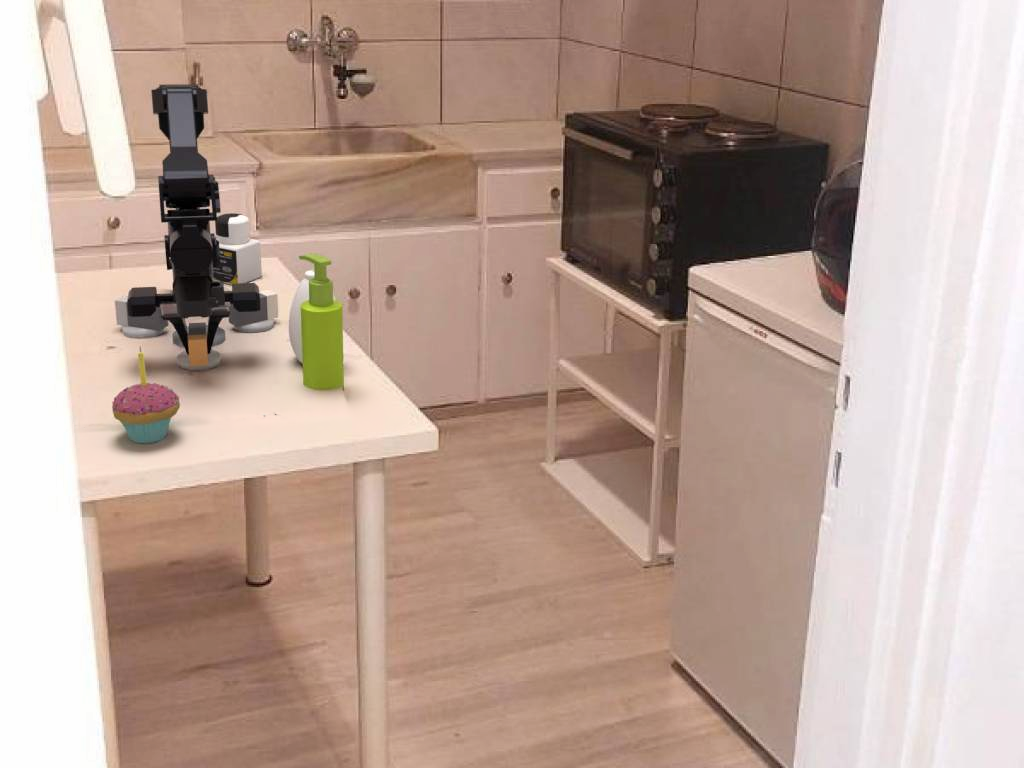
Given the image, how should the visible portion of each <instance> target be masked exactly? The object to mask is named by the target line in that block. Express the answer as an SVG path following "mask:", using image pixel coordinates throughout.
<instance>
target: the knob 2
mask: <svg viewBox="0 0 1024 768" xmlns="http://www.w3.org/2000/svg"><path fill="white" fill-rule="evenodd" d="M259 293H260V308H261V310H259V311H254V312H238V311H237V310H236V309H235V308H234V307H233V304H230V307H229V309H230V316H229V317H228V323H229V324H230V325H232V326H233V329H234V330H235V331H238V332H241V333H250V334H251V333H262V332H264V333H265V332H267V331H270V330H271V329H273V328H274V326H275V321H274V319H278V318H279V303H278V302H279V301H278V300H279V298H278V293H277V292H275V291H272V290H270V289H267V290H266V289H265V290H261V291H259Z"/></svg>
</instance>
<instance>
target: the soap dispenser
mask: <svg viewBox="0 0 1024 768" xmlns="http://www.w3.org/2000/svg"><path fill="white" fill-rule="evenodd" d="M298 258H299V260H305V261H306V262H307V261H308V262H310V263H311V264H312V263H314V276H315V278H313V279H311V280H310V281H309V300H307V301H305V302H303V303H302V304H301V334H302V362H303V363H302V383H303V385H304V387H306V388H308V389H312V390H318V391H324V390H325V391H328V390H334V389H337V388H340V387H341V389H342V391H343V392H344V391H345V374H344V372H345V370H344V369H345V367H344V365H345V364H344V332H343V331H344V327H343V325H344V324H343V323H344V322H343V303H342V302H341V301H339V300H337V299H336V300H333V294H334V281H333V280H332V279H331V278H329V277H328V276H327V275H328V274H327V272H328V271H327V266H331V265H332V260H331V259H330V258H328V257H325V256H323V255H321V254H318V253H308V254H303V255H298Z"/></svg>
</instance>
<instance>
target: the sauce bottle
mask: <svg viewBox="0 0 1024 768" xmlns="http://www.w3.org/2000/svg"><path fill="white" fill-rule="evenodd" d="M313 278H315V276H314V263H312V262H311V270H307V271H305V273H304V278H303V279H302V281H301V282H300V283H299V285H298V286H297V288H296V291H295V293H294V296H293V299H292V302H291V306H290V310H289V317H288V337H289V341H290V346H291V349H292V351H293V353H294V355H295V356H296V359H297V360H298V361H299V363H301V364H303V362H302V334H301V304H302V303H303V302H305V301H307V300H309V281H310V280H311V279H313ZM333 300H337V299H336V297H335V295H334V293H333Z"/></svg>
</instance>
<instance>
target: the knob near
mask: <svg viewBox="0 0 1024 768" xmlns="http://www.w3.org/2000/svg"><path fill="white" fill-rule="evenodd" d="M127 300H128V295H123V296H120V297H118V298H117V299H115V300H114V306H115V319H116V325H117V326H121V327H122V328H121V329H122V334H123V335H124V337H127V338H128V337H129V338H131V339H133V338H134V339H148V338H154V337H157V336H160V335H162V334H163V333H164V332H165V329H166V328H167V327H169V321H168V320H162V319H161V310H160V307H156V311H155V312H154V313H153V314H152V315H151V316H143V317H131V316H129V315H128V304H127Z"/></svg>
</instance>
